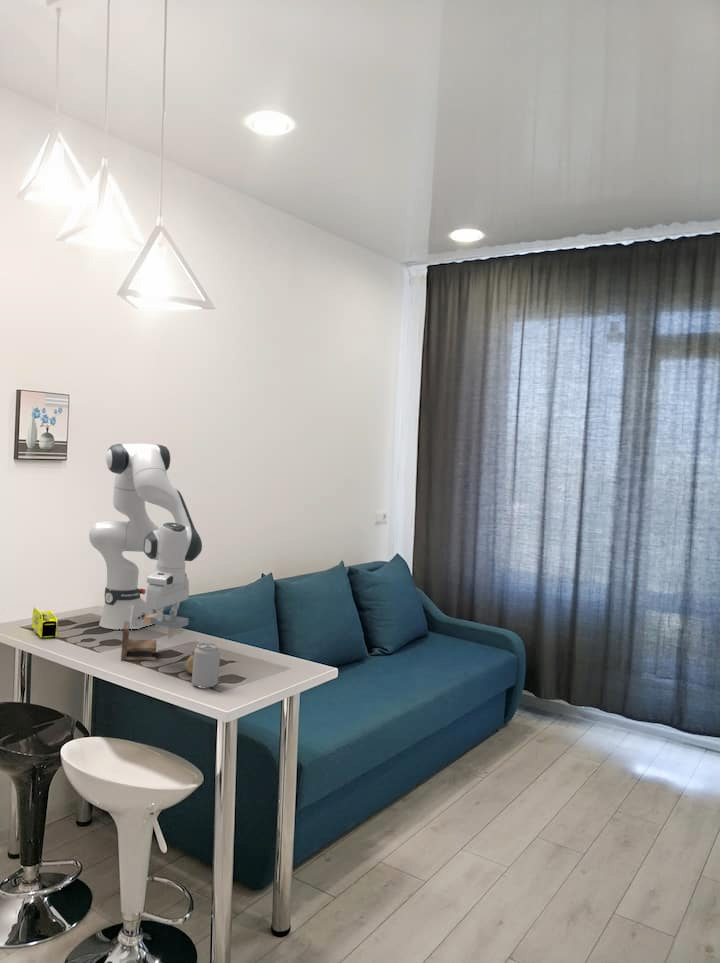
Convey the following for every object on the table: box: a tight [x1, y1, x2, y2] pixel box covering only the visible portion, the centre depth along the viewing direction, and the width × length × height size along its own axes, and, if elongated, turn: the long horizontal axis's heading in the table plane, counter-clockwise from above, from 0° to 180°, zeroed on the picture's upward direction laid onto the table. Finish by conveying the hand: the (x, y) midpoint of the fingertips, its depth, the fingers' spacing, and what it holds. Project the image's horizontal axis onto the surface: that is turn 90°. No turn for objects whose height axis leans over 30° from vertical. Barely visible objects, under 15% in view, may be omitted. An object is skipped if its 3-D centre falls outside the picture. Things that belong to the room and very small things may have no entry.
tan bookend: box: [120, 621, 158, 661], centre depth 242 cm, size 10×10×10 cm
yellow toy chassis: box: [31, 606, 58, 639], centre depth 260 cm, size 16×6×8 cm, turn 34°
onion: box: [185, 650, 194, 675], centre depth 229 cm, size 8×8×7 cm
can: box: [191, 642, 221, 687], centre depth 218 cm, size 8×8×12 cm
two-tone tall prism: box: [145, 612, 190, 629], centre depth 236 cm, size 12×6×2 cm, turn 74°
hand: (166, 618), depth 236 cm, fingers closed on two-tone tall prism, 6 cm apart
